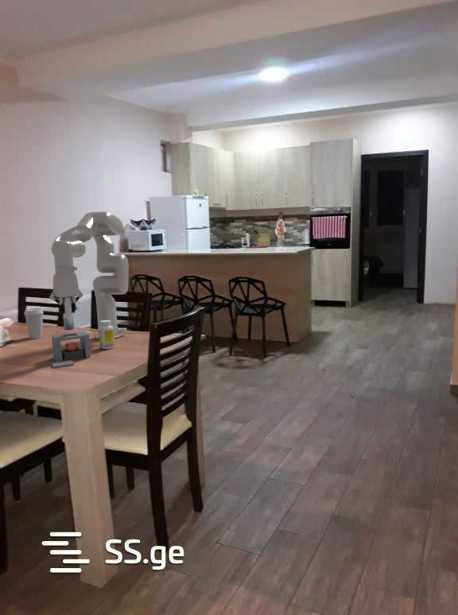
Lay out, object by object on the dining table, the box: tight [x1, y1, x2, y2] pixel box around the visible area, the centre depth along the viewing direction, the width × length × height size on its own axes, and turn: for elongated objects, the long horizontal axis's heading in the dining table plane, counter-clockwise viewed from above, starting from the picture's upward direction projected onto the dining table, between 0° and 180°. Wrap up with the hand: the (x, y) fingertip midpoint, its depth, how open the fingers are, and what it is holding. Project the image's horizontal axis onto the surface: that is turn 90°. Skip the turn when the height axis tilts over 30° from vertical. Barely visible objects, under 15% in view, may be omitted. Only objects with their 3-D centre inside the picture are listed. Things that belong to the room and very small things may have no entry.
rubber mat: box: [50, 360, 75, 369], centre depth 208 cm, size 8×6×1 cm
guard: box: [51, 330, 92, 362], centre depth 219 cm, size 14×9×10 cm, turn 119°
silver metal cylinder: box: [62, 297, 75, 331], centre depth 216 cm, size 4×4×14 cm
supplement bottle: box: [98, 320, 115, 350], centre depth 234 cm, size 7×7×13 cm
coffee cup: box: [23, 307, 44, 340], centre depth 262 cm, size 10×10×15 cm
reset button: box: [64, 341, 78, 351], centre depth 219 cm, size 5×5×3 cm
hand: (67, 312), depth 216 cm, fingers closed on silver metal cylinder, 4 cm apart
